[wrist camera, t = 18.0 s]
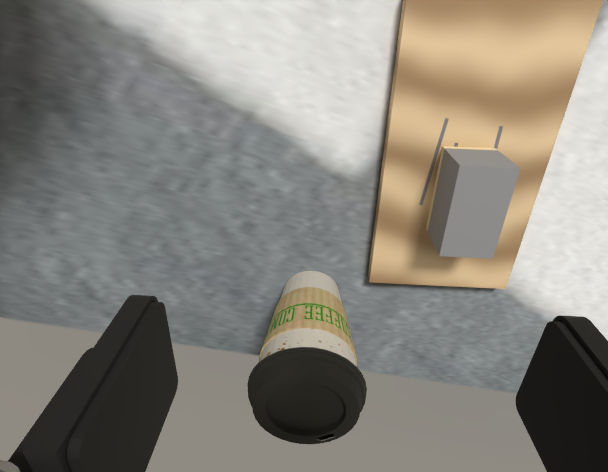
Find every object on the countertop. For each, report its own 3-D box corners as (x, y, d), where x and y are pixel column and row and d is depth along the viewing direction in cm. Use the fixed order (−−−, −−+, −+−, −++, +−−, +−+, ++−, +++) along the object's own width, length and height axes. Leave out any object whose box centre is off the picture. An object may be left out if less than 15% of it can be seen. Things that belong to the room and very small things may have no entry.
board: (404, -10, 30) (407, -12, 29) (592, -5, 30) (605, -6, 29) (367, 274, 43) (369, 282, 42) (499, 280, 43) (505, 288, 41)
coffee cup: (332, 242, 41) (335, 349, 28) (369, 310, 45) (388, 431, 32) (250, 276, 44) (219, 389, 31) (293, 337, 48) (281, 460, 35)
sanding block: (442, 146, 34) (459, 165, 30) (495, 148, 34) (520, 168, 30) (426, 228, 38) (439, 256, 34) (473, 230, 38) (492, 258, 34)
